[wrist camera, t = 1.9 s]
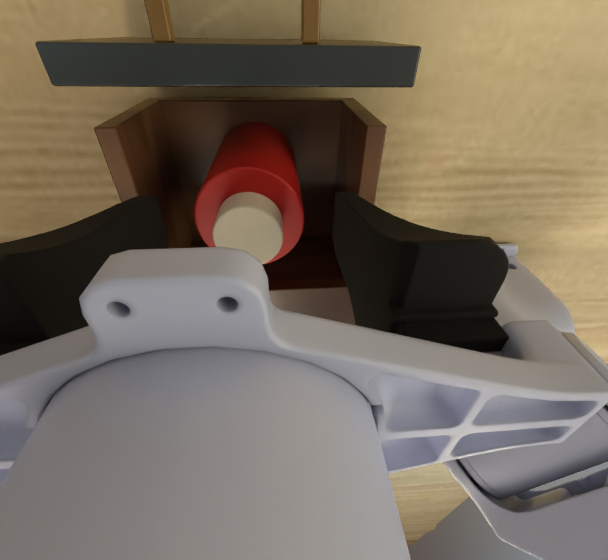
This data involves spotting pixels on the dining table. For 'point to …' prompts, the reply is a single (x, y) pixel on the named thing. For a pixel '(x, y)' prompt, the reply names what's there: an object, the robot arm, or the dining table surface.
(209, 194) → the red plastic cylinder
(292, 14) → the dining table surface
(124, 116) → the drawer
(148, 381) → the robot arm
